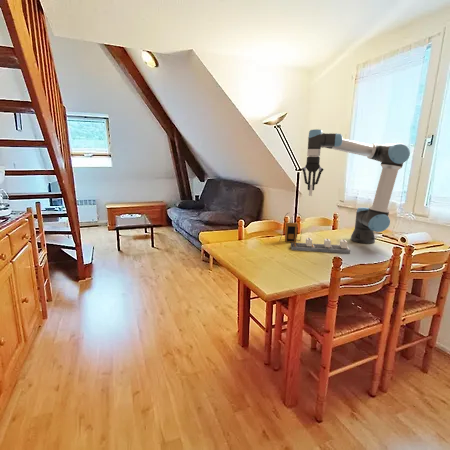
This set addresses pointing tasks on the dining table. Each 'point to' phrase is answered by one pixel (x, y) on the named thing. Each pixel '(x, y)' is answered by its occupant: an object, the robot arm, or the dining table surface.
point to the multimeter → (291, 231)
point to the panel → (319, 248)
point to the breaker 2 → (327, 243)
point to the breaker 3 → (343, 244)
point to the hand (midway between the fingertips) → (310, 195)
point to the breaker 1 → (308, 242)
